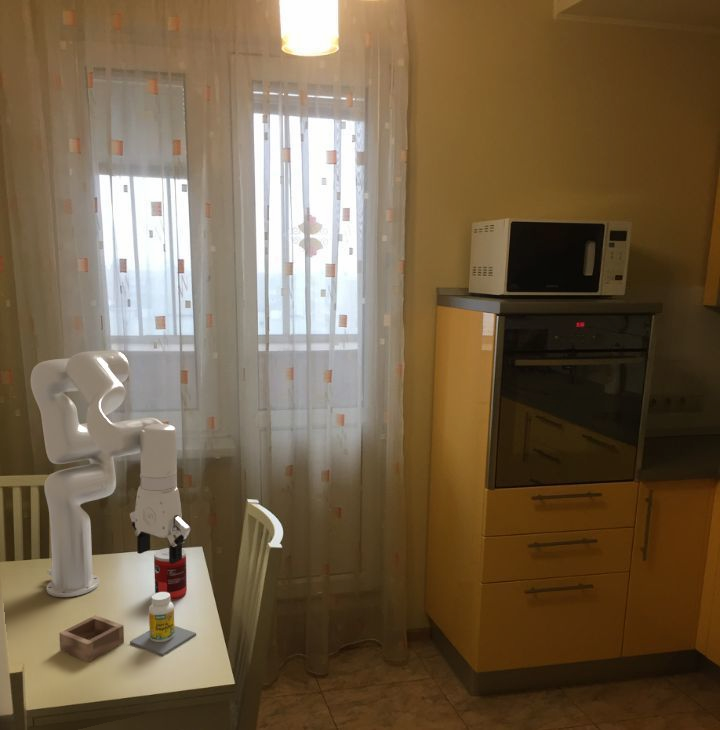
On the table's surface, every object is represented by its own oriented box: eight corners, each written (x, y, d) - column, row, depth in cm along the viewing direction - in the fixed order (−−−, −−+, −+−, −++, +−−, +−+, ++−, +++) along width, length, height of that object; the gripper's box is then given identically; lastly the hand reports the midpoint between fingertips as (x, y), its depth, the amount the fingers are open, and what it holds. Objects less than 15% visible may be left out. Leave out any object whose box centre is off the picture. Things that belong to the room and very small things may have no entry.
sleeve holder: (60, 650, 142) (59, 633, 141) (96, 631, 150) (95, 615, 149) (88, 662, 137) (87, 644, 137) (124, 642, 145) (123, 625, 145)
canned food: (163, 586, 173) (162, 546, 172) (191, 588, 172) (191, 548, 171) (149, 599, 166) (148, 557, 165) (179, 602, 165) (178, 559, 163)
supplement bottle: (170, 628, 151) (169, 588, 150) (178, 638, 146) (177, 597, 145) (146, 634, 148) (145, 594, 147) (153, 645, 143) (152, 603, 142)
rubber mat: (129, 643, 145) (129, 641, 145) (164, 624, 154) (164, 621, 154) (162, 655, 140) (162, 653, 140) (196, 635, 149) (196, 633, 149)
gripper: (117, 478, 144) (118, 553, 146) (175, 493, 136) (175, 572, 138) (144, 470, 151) (144, 542, 153) (200, 484, 142) (200, 559, 144)
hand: (159, 556), depth 145 cm, fingers open, 9 cm apart
